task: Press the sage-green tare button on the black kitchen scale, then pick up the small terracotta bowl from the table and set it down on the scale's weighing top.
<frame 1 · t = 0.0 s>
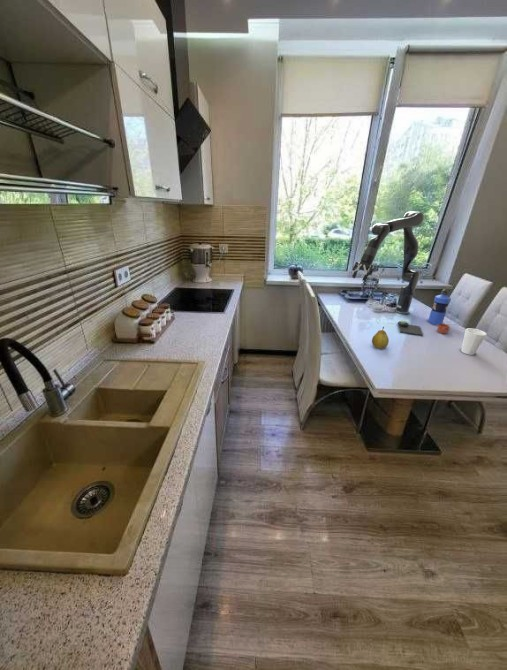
hand: (358, 279, 181), 31 cm above the table, tool tilted 20°, fingers open, 8 cm apart
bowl: (442, 332, 184), on the table
tare button: (403, 322, 191), point 3 cm above the table, slide at 0.1 cm
fruit: (378, 347, 162), on the table
foam cup: (467, 352, 159), on the table
scale: (409, 329, 186), on the table
water bottle: (434, 322, 201), on the table
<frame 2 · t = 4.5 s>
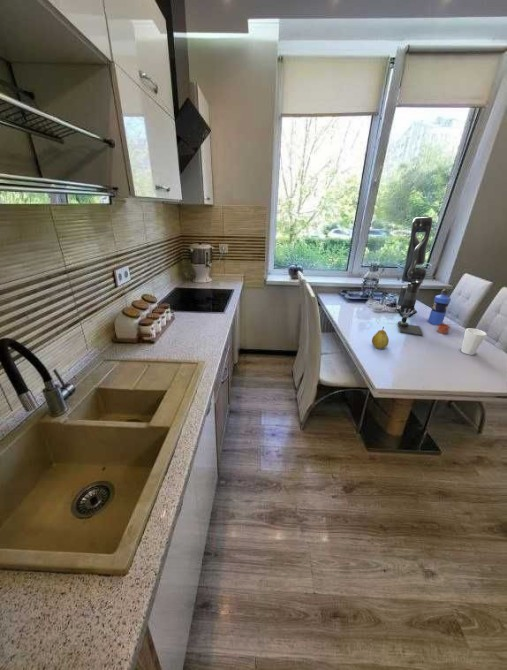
hand: (403, 322, 191), 3 cm above the table, tool pointing down, fingers closed
tare button: (403, 323, 191), point 2 cm above the table, slide at -0.5 cm, touching gripper
everything else where it was.
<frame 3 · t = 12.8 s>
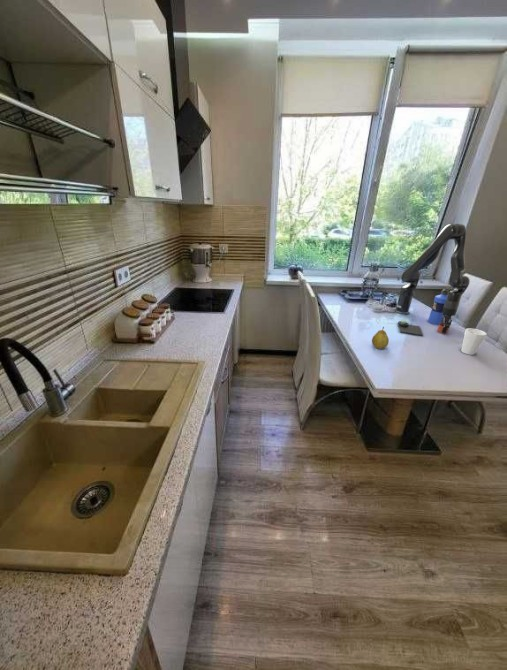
hand: (442, 330, 184), 1 cm above the table, tool pointing down, fingers closed on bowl, 6 cm apart
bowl: (442, 332, 184), on the table, touching gripper
tare button: (403, 322, 191), point 3 cm above the table, slide at 0.1 cm
everything else where it was.
when the fingers open (2 cm above the table, at t = 20.4 s): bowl stays where it is, resting on scale.
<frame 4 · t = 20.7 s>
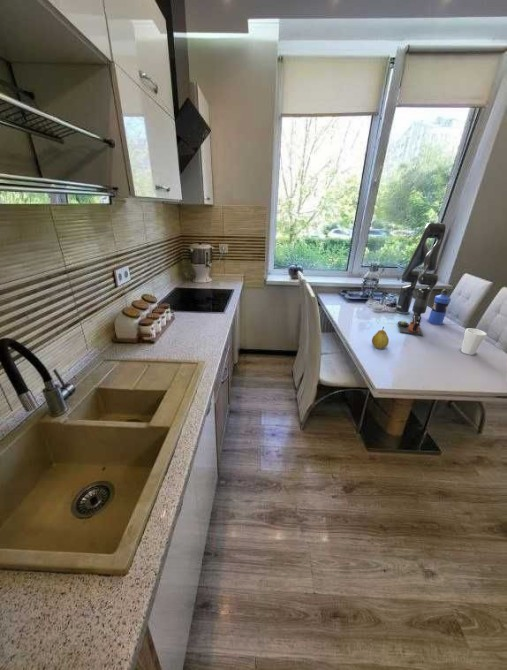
hand: (413, 328, 183), 3 cm above the table, tool pointing down, fingers open, 7 cm apart
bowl: (413, 330, 183), point 1 cm above the table, touching scale
everything else where it was.
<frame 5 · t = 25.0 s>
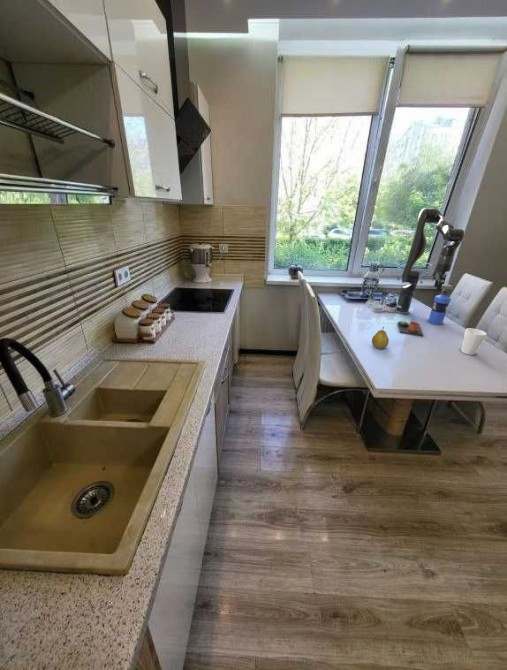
hand: (437, 288, 178), 28 cm above the table, tool pointing down, fingers open, 8 cm apart
nothing on the table moved.
at the end: tare button pushed in 0.9 cm at the most during the clip, back to where it started at the end; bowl inside the target area on the scale (3.0 cm from its centre), point 0.9 cm above the scale's base; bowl touching scale; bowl tilted 0° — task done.
